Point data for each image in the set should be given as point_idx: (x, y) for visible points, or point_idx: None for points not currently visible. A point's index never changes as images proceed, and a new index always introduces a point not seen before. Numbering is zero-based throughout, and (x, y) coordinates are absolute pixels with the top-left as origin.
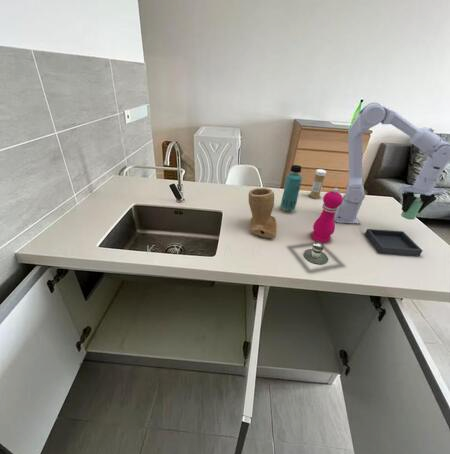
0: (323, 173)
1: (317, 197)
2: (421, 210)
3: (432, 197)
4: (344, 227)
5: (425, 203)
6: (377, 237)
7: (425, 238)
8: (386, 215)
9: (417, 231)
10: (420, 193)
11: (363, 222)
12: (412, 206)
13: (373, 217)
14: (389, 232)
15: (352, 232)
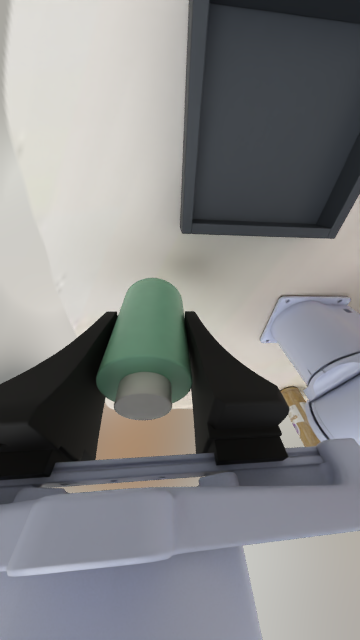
0: None
1: (289, 389)
2: (100, 320)
3: (1, 436)
4: (347, 270)
5: (82, 361)
6: (297, 200)
7: (73, 224)
8: None
9: (89, 274)
10: (208, 491)
11: (254, 306)
12: (176, 334)
13: None
14: (244, 224)
15: (351, 240)
